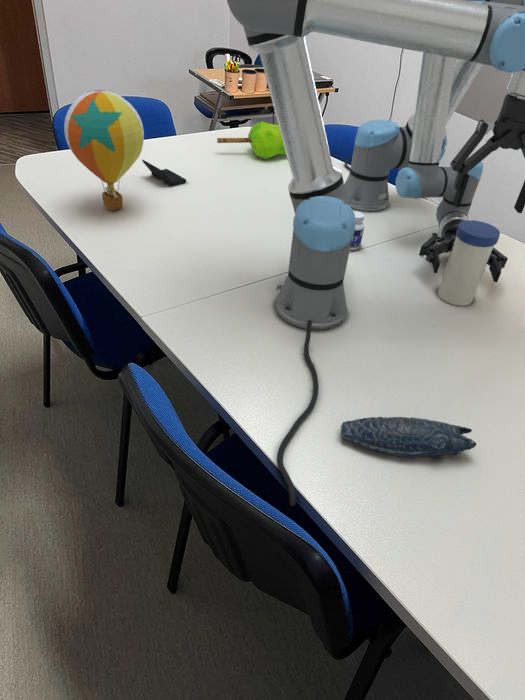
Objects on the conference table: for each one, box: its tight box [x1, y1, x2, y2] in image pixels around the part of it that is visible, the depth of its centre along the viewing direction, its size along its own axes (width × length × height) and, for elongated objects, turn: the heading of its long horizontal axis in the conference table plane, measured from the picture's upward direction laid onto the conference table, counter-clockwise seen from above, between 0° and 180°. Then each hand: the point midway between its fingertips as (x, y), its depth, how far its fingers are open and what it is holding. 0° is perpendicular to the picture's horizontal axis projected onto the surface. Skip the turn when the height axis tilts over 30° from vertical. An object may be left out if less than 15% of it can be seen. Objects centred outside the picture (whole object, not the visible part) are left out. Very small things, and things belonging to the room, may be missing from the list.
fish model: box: [340, 416, 477, 458], centre depth 82 cm, size 7×21×5 cm, turn 84°
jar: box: [437, 236, 495, 307], centre depth 117 cm, size 8×8×17 cm
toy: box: [63, 89, 145, 212], centre depth 136 cm, size 20×20×30 cm
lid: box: [456, 219, 501, 247], centre depth 112 cm, size 9×9×2 cm
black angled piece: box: [141, 159, 187, 187], centre depth 162 cm, size 12×7×10 cm
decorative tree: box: [216, 121, 287, 160], centre depth 186 cm, size 18×10×30 cm
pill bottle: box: [350, 210, 365, 251], centre depth 135 cm, size 5×5×9 cm
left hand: (486, 207), depth 108 cm, fingers open, 12 cm apart
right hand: (467, 272), depth 118 cm, fingers open, 13 cm apart
